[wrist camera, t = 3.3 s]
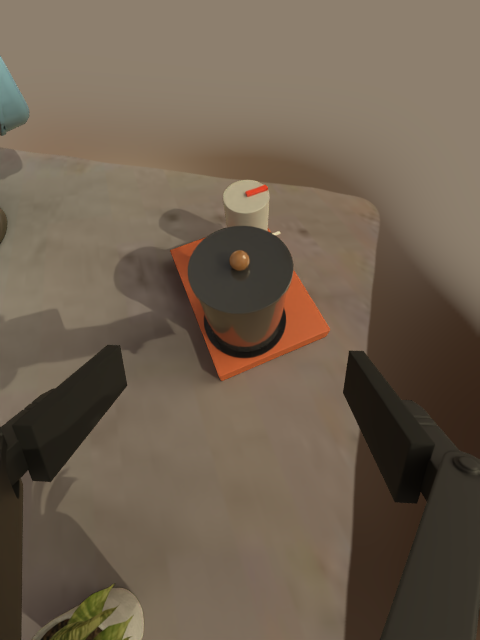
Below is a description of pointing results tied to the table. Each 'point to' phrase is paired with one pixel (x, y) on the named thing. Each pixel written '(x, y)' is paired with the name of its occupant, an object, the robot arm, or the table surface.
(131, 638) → the house plant
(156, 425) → the table surface
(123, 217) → the table surface
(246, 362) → the hot plate
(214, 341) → the burner
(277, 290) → the enamel pot
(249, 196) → the hob knob
